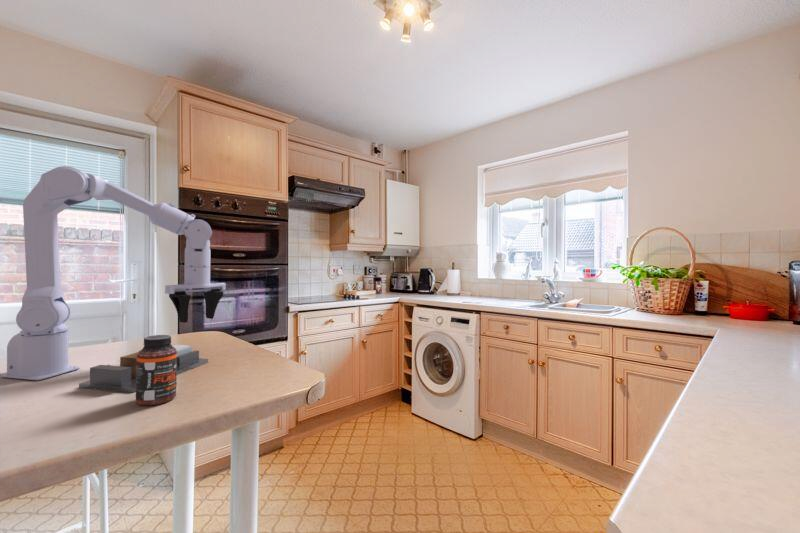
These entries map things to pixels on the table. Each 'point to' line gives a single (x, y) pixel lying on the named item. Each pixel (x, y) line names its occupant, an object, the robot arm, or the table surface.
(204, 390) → the table surface
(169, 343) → the supplement bottle
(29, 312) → the robot arm
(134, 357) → the block
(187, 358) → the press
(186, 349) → the ram
